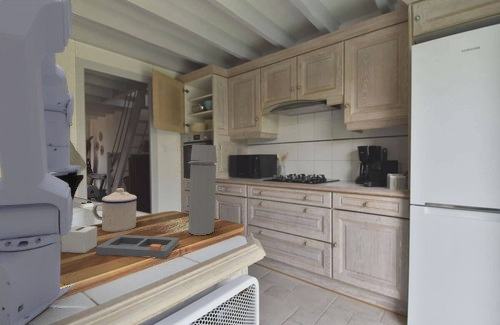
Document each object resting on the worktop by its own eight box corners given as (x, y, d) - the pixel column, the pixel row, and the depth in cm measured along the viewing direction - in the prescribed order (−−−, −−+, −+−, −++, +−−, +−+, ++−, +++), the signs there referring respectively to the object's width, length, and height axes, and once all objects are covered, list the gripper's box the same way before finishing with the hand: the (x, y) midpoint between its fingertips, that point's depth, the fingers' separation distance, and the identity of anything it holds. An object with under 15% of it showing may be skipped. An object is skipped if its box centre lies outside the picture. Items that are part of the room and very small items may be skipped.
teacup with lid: (141, 224, 74) (142, 186, 73) (128, 233, 64) (129, 191, 64) (101, 223, 73) (102, 185, 72) (82, 233, 64) (83, 190, 63)
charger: (84, 255, 51) (85, 231, 50) (61, 254, 51) (61, 231, 50) (96, 248, 55) (97, 226, 54) (75, 247, 55) (75, 225, 54)
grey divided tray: (165, 263, 49) (165, 247, 49) (95, 258, 50) (95, 243, 50) (178, 248, 57) (179, 234, 57) (118, 244, 58) (118, 231, 58)
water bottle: (220, 233, 68) (223, 145, 67) (197, 240, 62) (200, 144, 61) (200, 226, 74) (203, 145, 73) (178, 231, 68) (180, 144, 67)
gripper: (43, 145, 43) (43, 219, 43) (94, 147, 57) (93, 203, 58) (3, 144, 43) (3, 218, 43) (64, 146, 57) (63, 202, 57)
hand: (52, 210), depth 50 cm, fingers open, 7 cm apart
